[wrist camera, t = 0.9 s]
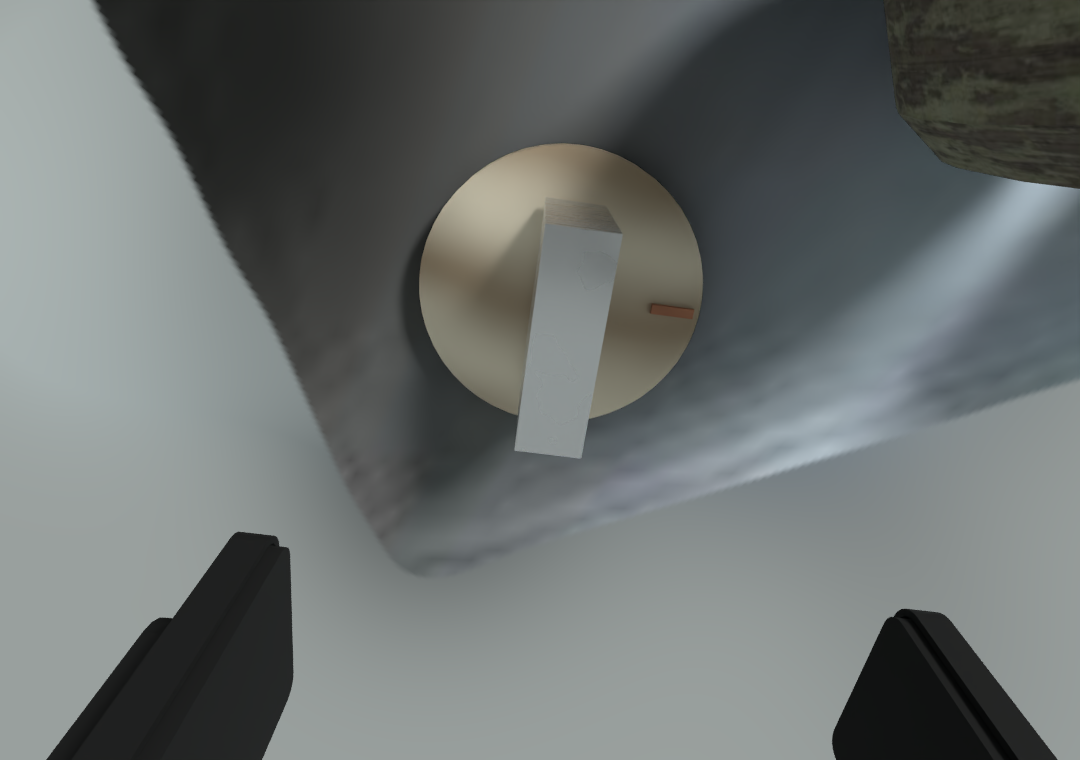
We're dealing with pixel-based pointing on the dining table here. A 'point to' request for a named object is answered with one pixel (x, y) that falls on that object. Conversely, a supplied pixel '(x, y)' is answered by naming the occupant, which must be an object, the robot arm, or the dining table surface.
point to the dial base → (510, 264)
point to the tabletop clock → (991, 83)
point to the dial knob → (566, 326)
